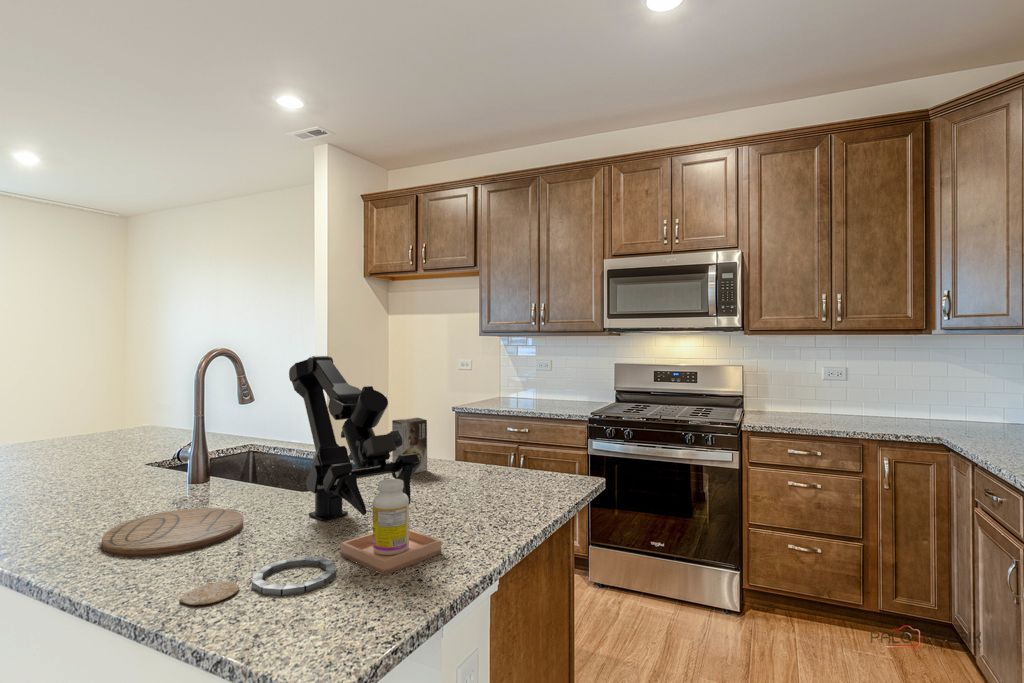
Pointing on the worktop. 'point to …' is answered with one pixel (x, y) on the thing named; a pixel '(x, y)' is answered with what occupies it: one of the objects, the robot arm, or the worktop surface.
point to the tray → (385, 564)
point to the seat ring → (291, 589)
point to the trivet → (172, 532)
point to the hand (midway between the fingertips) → (387, 509)
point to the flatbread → (209, 593)
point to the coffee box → (412, 439)
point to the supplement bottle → (390, 518)
